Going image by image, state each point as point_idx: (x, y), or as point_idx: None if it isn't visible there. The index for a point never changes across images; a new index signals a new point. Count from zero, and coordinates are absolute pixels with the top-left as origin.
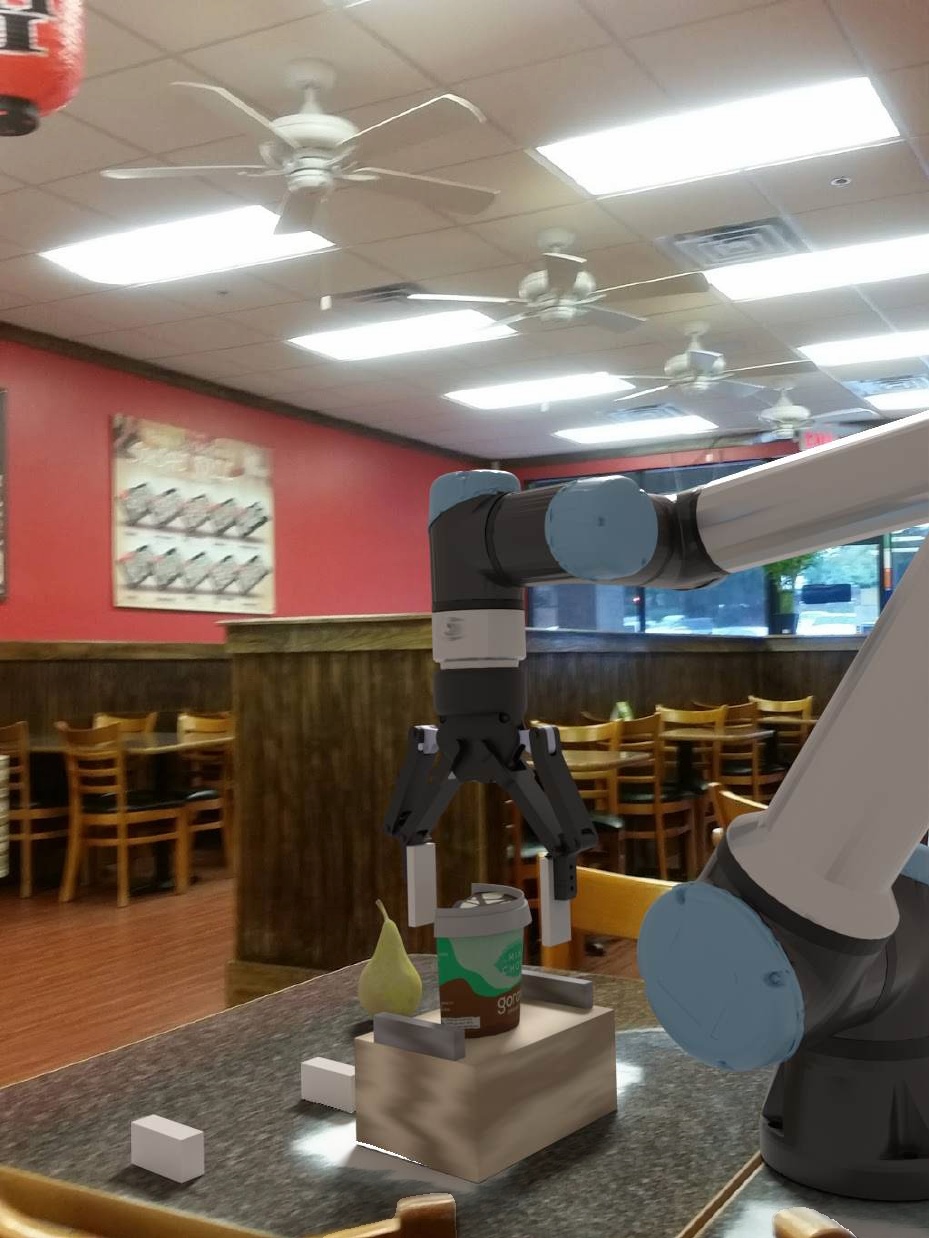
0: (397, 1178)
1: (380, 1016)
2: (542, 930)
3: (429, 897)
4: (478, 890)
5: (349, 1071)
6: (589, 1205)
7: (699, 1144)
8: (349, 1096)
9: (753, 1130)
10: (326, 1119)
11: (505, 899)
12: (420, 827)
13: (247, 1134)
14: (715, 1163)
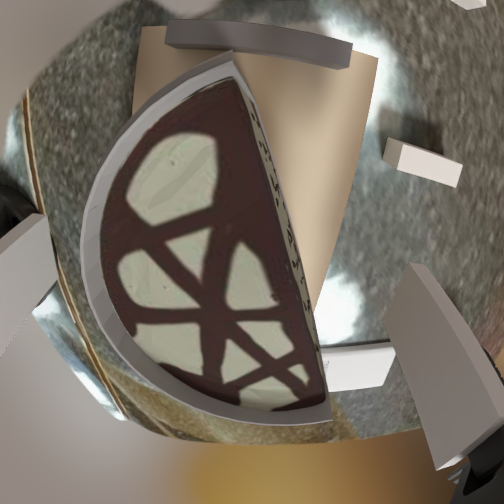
0: (254, 18)
1: (338, 41)
2: (28, 228)
3: (409, 342)
4: (313, 409)
5: (411, 156)
6: (84, 69)
7: (78, 216)
8: (396, 140)
9: (68, 257)
10: (400, 115)
11: (221, 383)
12: (494, 489)
13: (439, 62)
14: (54, 190)
